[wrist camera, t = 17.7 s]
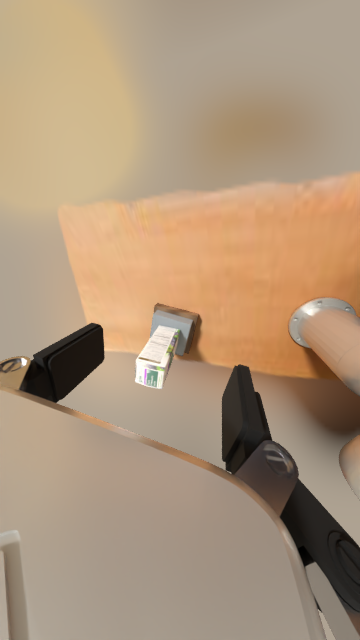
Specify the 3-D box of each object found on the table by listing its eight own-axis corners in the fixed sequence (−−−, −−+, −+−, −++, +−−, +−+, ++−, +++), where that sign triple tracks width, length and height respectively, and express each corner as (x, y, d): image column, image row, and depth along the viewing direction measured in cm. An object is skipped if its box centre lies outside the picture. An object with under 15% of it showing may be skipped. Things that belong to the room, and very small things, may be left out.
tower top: (192, 320, 42) (190, 324, 39) (184, 350, 46) (182, 356, 44) (157, 309, 43) (153, 313, 41) (152, 339, 48) (148, 345, 45)
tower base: (199, 313, 44) (197, 317, 41) (190, 348, 49) (188, 353, 47) (158, 302, 46) (154, 305, 43) (154, 337, 51) (150, 342, 48)
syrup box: (177, 347, 43) (163, 390, 30) (156, 342, 43) (133, 383, 30) (180, 328, 40) (166, 368, 27) (157, 324, 41) (134, 360, 28)
